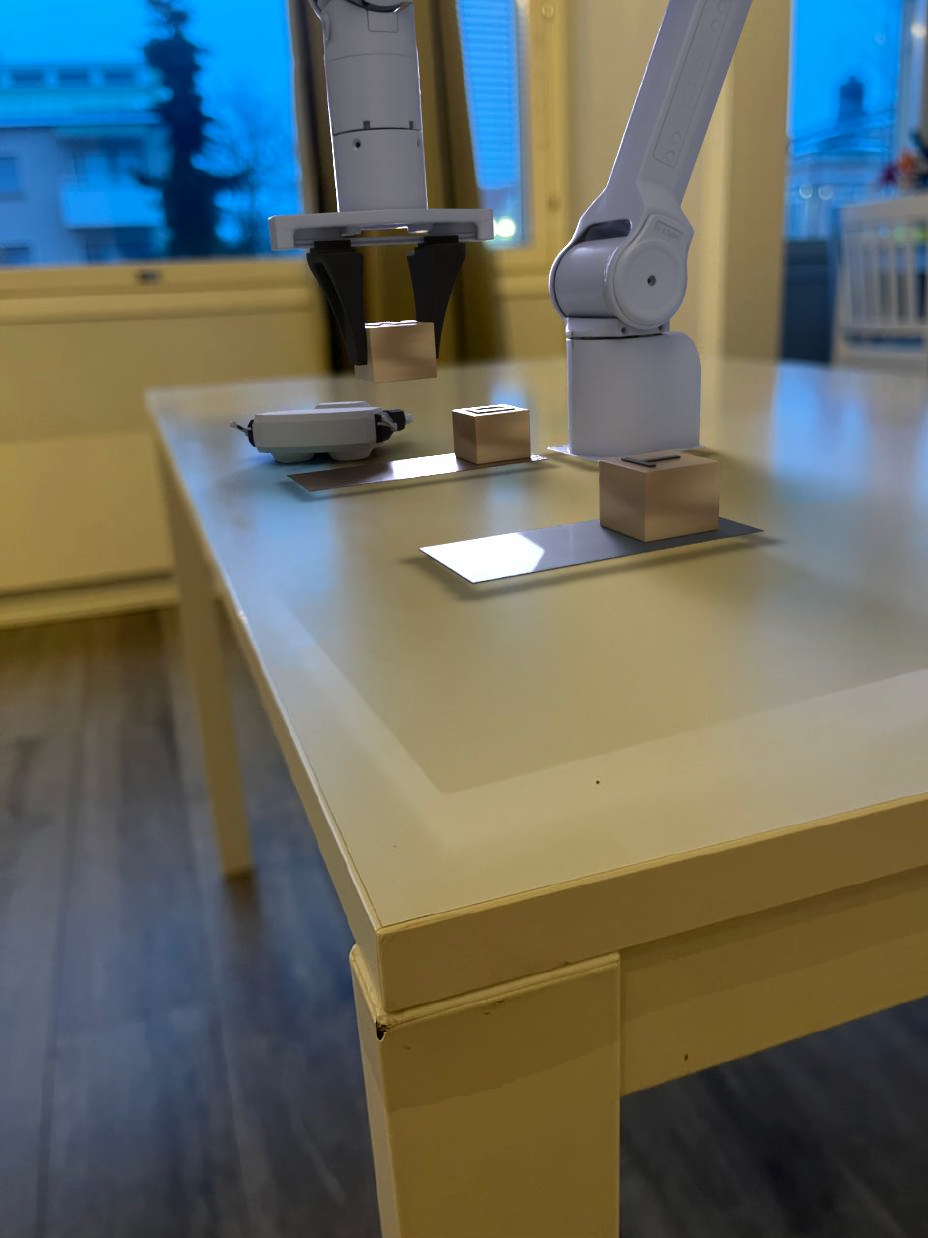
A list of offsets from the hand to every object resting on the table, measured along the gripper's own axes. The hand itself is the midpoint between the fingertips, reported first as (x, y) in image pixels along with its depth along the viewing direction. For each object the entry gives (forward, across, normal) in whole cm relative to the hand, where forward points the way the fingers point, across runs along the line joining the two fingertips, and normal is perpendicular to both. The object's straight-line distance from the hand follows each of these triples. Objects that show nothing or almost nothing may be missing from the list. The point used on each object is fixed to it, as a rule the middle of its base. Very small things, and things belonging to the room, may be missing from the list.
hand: (395, 361), depth 64 cm
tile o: (+8, -8, -3) cm, 12 cm away
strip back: (+8, -2, -3) cm, 9 cm away
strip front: (+8, -2, +22) cm, 24 cm away
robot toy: (+9, +1, -15) cm, 17 cm away
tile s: (+1, 0, 0) cm, 1 cm away
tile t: (+8, -6, +22) cm, 24 cm away
